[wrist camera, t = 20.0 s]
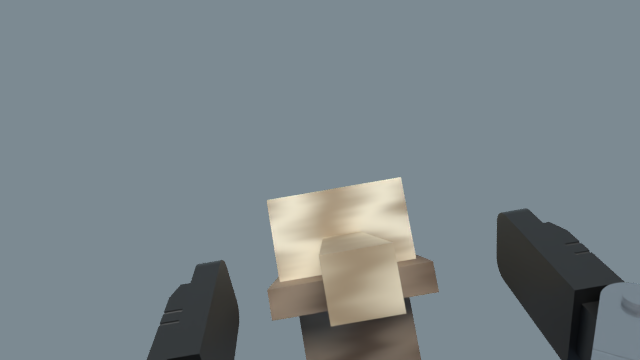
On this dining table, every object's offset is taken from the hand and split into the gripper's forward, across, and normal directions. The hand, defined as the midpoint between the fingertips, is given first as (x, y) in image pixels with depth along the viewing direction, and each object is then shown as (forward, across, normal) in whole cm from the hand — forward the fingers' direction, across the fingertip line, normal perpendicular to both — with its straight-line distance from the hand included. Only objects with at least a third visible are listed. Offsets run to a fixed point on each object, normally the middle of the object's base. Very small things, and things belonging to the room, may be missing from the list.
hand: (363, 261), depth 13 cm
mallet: (+11, 0, +9) cm, 15 cm away
